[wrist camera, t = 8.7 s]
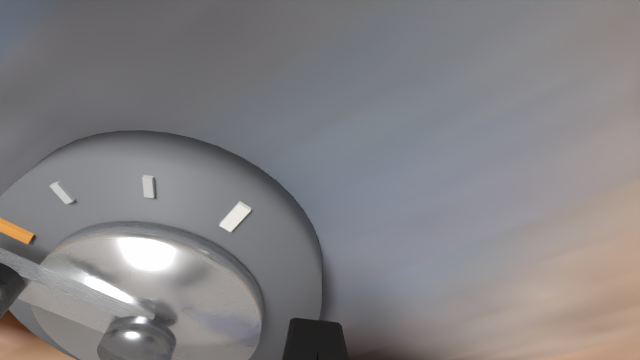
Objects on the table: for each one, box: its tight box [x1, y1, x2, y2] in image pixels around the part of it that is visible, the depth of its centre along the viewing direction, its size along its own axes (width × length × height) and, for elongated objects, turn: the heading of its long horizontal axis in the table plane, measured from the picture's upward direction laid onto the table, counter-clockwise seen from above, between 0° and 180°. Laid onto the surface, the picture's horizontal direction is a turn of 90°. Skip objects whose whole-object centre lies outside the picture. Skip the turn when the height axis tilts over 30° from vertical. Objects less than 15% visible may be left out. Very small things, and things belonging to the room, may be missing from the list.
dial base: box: [0, 131, 322, 360], centre depth 22 cm, size 17×17×3 cm
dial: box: [0, 221, 264, 360], centre depth 18 cm, size 14×11×6 cm
